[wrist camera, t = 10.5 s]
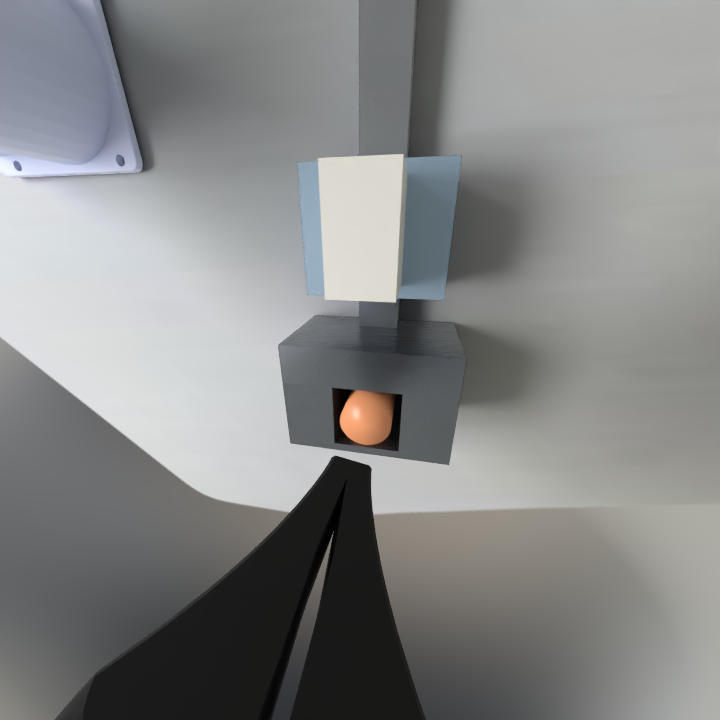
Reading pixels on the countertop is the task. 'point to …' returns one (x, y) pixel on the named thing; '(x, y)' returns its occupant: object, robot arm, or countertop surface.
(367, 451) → the cabinet
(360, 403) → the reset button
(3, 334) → the countertop surface
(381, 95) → the rail
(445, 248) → the carriage
